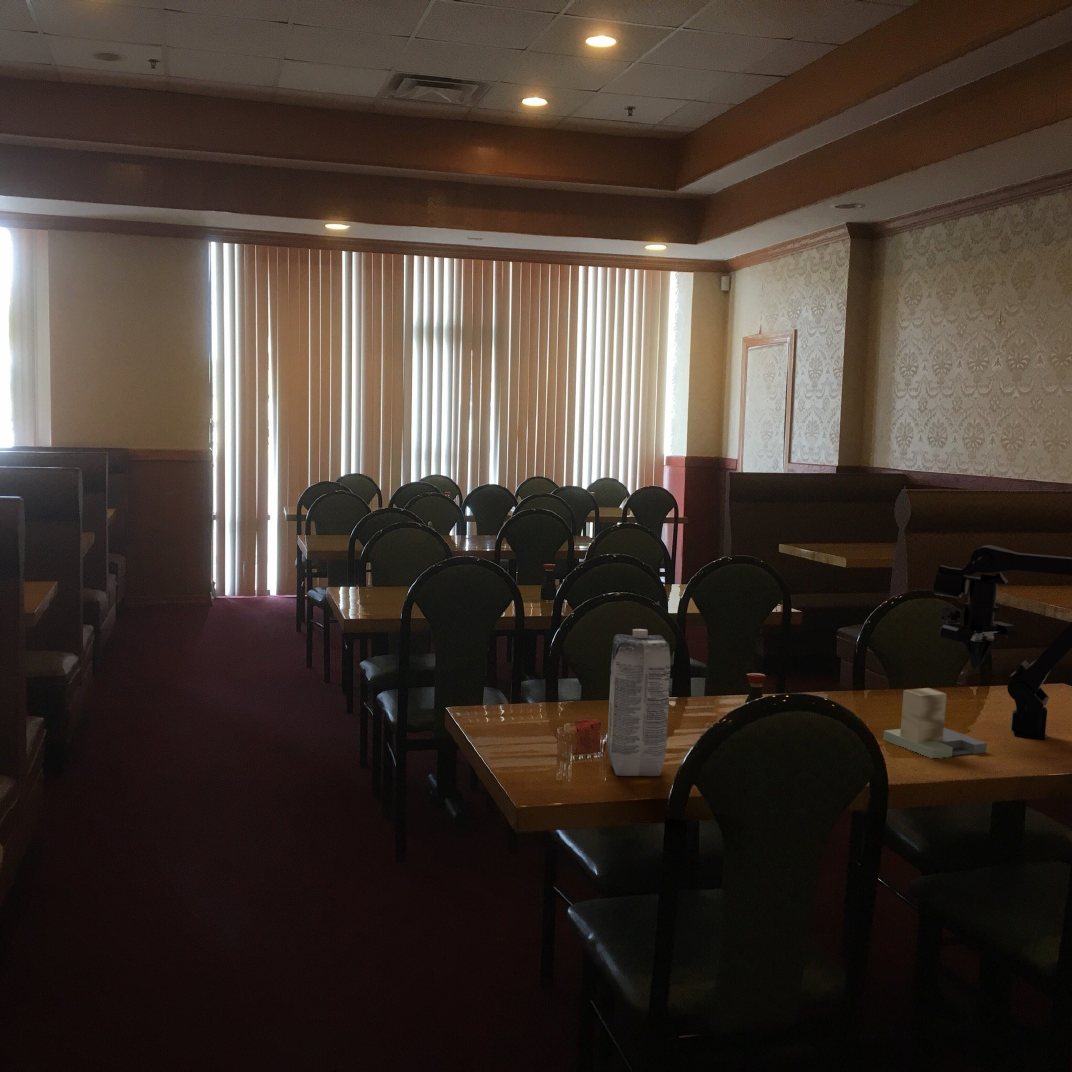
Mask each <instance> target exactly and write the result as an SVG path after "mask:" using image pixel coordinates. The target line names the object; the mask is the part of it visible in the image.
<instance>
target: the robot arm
mask: <svg viewBox="0 0 1072 1072" xmlns="http://www.w3.org/2000/svg"><path fill="white" fill-rule="evenodd" d="M1007 571H1008V572H1009V571H1023V572H1033V573H1042V574H1044V573H1045V574H1055V575H1063V576H1064V575H1066V576H1072V557H1070V556H1061V555H1060V556H1059V555H1049V554H1048V555H1047V554H1034V553H1023V552H1017V551H1013V550H1010V549H1007V548H1004V547H1000V546H995V545H992V544H987V545H983V546H980V547H977V548H976V549H974V551H973V552H972V554H971V557H970V561H969V562H968V563H967V564H966V565H964V566H963V568H958V567H950V566H946V565H939V566H938V569H937V573H936V575H935V579H934V581H933V593H934V595H936V596H942V597H949V598H950V597H951V598H958V599H959V598H960V599H961V598H962V597H963V595H967V593H968V601H967V603H965V602H964V603H963V604H962V609H956V610H955V609H954V608H953V606H950V607H949V606H948V607H947V606H946V607H942V609H941V614H940V616H941V617H940V618H941V621H942V622H943V623H946V624H943V625H942V626H941V627H939V637H942V638H944V639H949V640H951V641H956V642H961V643H963V644H964V645H965V647H966V650H967V654H968V655H967V656H968V658H969V662H970V666H971V668H972V669H974V670H976V669H979V667H980V666H981V664H982V663H983V662H984V661H985V658H986V657H988V656H987V655H988V654H989V653H990V652H991V650H993V648H994V647H995V645H996V644H997V643H999V639H996V638H995V636H994V635H1004V636H1005V638H1006V639H1017V637H1018V636H1017V635H1018V629H1017V627H1016V626H1015V625H1014V624H1011V623H1006V622H1002V621H995V613H998V612H1000V607H999V606H996V602H997V593H998V585H1005V584H1007V583H1008V582H1009V581H1008V579H1007V578H1006V577H1005V576H1004V575H1003V573H1002V572H1007ZM979 572H980V573H982V574H980V576H972V575H974V574H976V573H979ZM990 573H997V574H990ZM969 583H970V584H969ZM968 590H969V591H968ZM1071 649H1072V621H1071V622H1070V623H1069V624H1068V625H1067V626H1066V627H1065V629H1063V630H1062V632H1061V633H1060V634H1059V635H1058V636H1057V637H1056V638H1055V639H1054V640H1053V642H1052V643H1050V645H1049V646H1048V647H1047V648H1046V649H1045V650H1044V651H1043V652H1042V654H1041V655H1040V656H1039V657H1038V658H1037V659H1036V660H1034V661H1032V662H1031V663H1029V662H1028V661H1027V660H1024V661H1023V662H1022V663H1021V664H1019V667H1018V668H1017V670H1015V671H1014V672H1012V673H1011V674H1010V676H1009V677H1008V679H1009V681H1008V683H1007V687H1006V688H1007V693H1008V695H1009V696H1010V698H1012V699H1013V700H1014V703H1015V708H1014V709H1015V710H1014V709H1013V710H1012V712H1011V719H1010V720H1011V723H1010V730H1011V732H1012V733H1013V736H1016V737H1022V738H1031V739H1032V738H1033V739H1038V740H1040V739H1041V740H1047V736H1046V735H1047V734H1046V731H1047V728H1046V727H1047V718H1048V709H1047V707H1046V706H1047V703H1048V701H1049V700H1050V697H1049V695H1048V694H1047V693H1046V692H1045V691H1044V690H1043V689H1042V688H1041V687H1042V685H1043V684H1044V682H1045V681H1046V679H1047V677H1048V675H1049V674H1050V672H1051V671H1052V670H1053V668H1055V667H1056V666H1057V664H1058V663H1059V662H1060V661H1061V660H1062V659H1063V658H1064V657H1065V656H1066V654H1068V653H1069V652H1070V651H1071Z"/></svg>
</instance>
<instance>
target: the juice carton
mask: <svg viewBox="0 0 1072 1072" xmlns="http://www.w3.org/2000/svg"><path fill="white" fill-rule="evenodd" d="M671 650H672V649H671V645H670V644H669V642H668V641H667V640H666V639H665V638H664V637H663V636H662V635H659V634H656V635H655V634H653V635H648V629H643V628H635V629H632V635H630V634H621V633H619V634H615V635H614V637H613V641H612V652H611V660H610V661H611V663H610V679H609V681H610V682H609V683H610V684H609V701H608V702H609V703H608V704H609V705H608V722H607V723H608V724H607V753H608V759H609V761H610V765H611V767H612V769H613V771H614V773H615V776H617V777H618V776H619V777H660V776H661V774H662V771H663V768H664V765H665V764H664V763H665V759H666V753H667V739H668V738H667V737H668V723H669V722H668V720H669V719H668V718H669V705H670V704H669V703H670V700H669V699H670V685H671V684H670V681H671Z"/></svg>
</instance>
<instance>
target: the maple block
mask: <svg viewBox="0 0 1072 1072" xmlns="http://www.w3.org/2000/svg"><path fill="white" fill-rule="evenodd" d="M902 693H903V695H902V707H901V719H900V720H901V721H900V729H901V731H900V737H903V738H905V739H908V740H910V741H913V742H915V743H924V742H932V741H941V740H943V732H944V728H945V720H946V719H945V717H946V706H947V705H946V704H947V693H945V692H942V691H940V690H937V689H934V688H930V687H924V688H913V689H912V688H911V689H903V692H902Z"/></svg>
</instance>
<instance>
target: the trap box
mask: <svg viewBox="0 0 1072 1072" xmlns="http://www.w3.org/2000/svg"><path fill="white" fill-rule="evenodd" d="M900 731H901V728H897V729H887V730H883V737H882V738H883V741H885V742H888V743H890V744H893V745H895V746H898V747H900V746H901V748H903V747H904V748H903V749H905V748H907V749H908V751H910V750H911V751H910V752H912V751H914V752H913V753H915V752H917V753H919V754H918V755H920V754H921V755H920V756H922V755H924V756H923V757H925V756H927V757H930V758H939V759H943V758H942V757H946V758H953V757H952V756H954V757H961V756H960V755H962V756H967V755H966V754H970V755H977V754H984V753H986V752H987V747H988V746H987V745H988V743H987V742H985V741H982V740H979V739H976V738H974V737H971V736H968V735H966V734H963V733H961V732H957V731H955V730H952V729H949V728H946V727H944V732H943V740H941V741H932V742H924V743H915V742H913V741H910V740H908V739H905V738H903V737H900ZM907 749H906V750H907ZM917 753H916V754H917ZM950 756H951V757H950ZM927 757H926V758H927ZM930 758H929V759H930Z"/></svg>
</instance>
